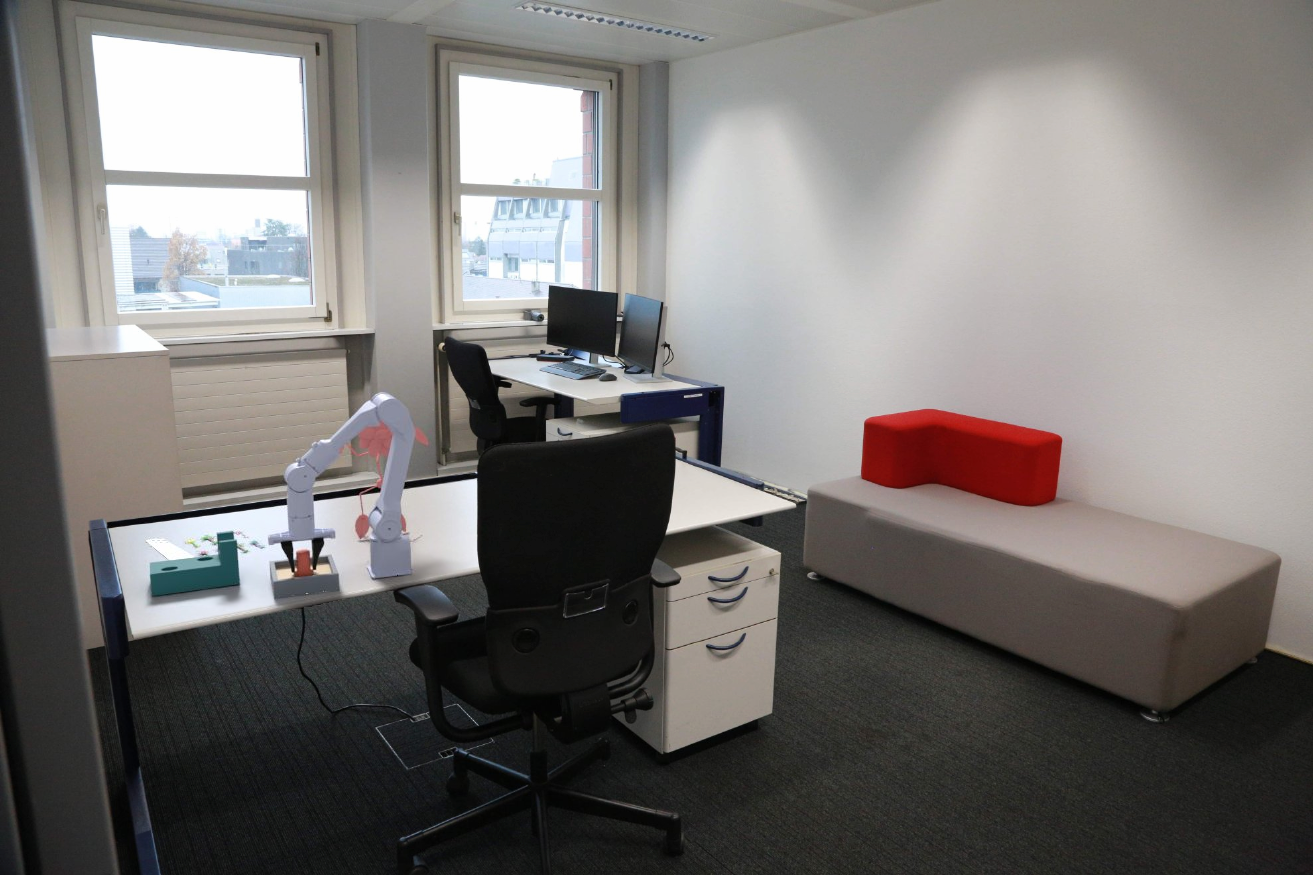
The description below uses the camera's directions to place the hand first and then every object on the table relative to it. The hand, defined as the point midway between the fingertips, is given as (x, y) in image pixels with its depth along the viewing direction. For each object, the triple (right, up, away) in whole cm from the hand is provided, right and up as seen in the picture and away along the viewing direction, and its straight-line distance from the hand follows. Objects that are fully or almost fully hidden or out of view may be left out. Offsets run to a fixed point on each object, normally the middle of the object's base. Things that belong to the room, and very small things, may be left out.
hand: (303, 569), depth 211 cm
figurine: (+9, +3, +34) cm, 36 cm away
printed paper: (-30, +2, +25) cm, 40 cm away
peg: (0, -3, +1) cm, 3 cm away
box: (0, -3, +1) cm, 3 cm away
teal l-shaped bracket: (-25, -3, -1) cm, 25 cm away
